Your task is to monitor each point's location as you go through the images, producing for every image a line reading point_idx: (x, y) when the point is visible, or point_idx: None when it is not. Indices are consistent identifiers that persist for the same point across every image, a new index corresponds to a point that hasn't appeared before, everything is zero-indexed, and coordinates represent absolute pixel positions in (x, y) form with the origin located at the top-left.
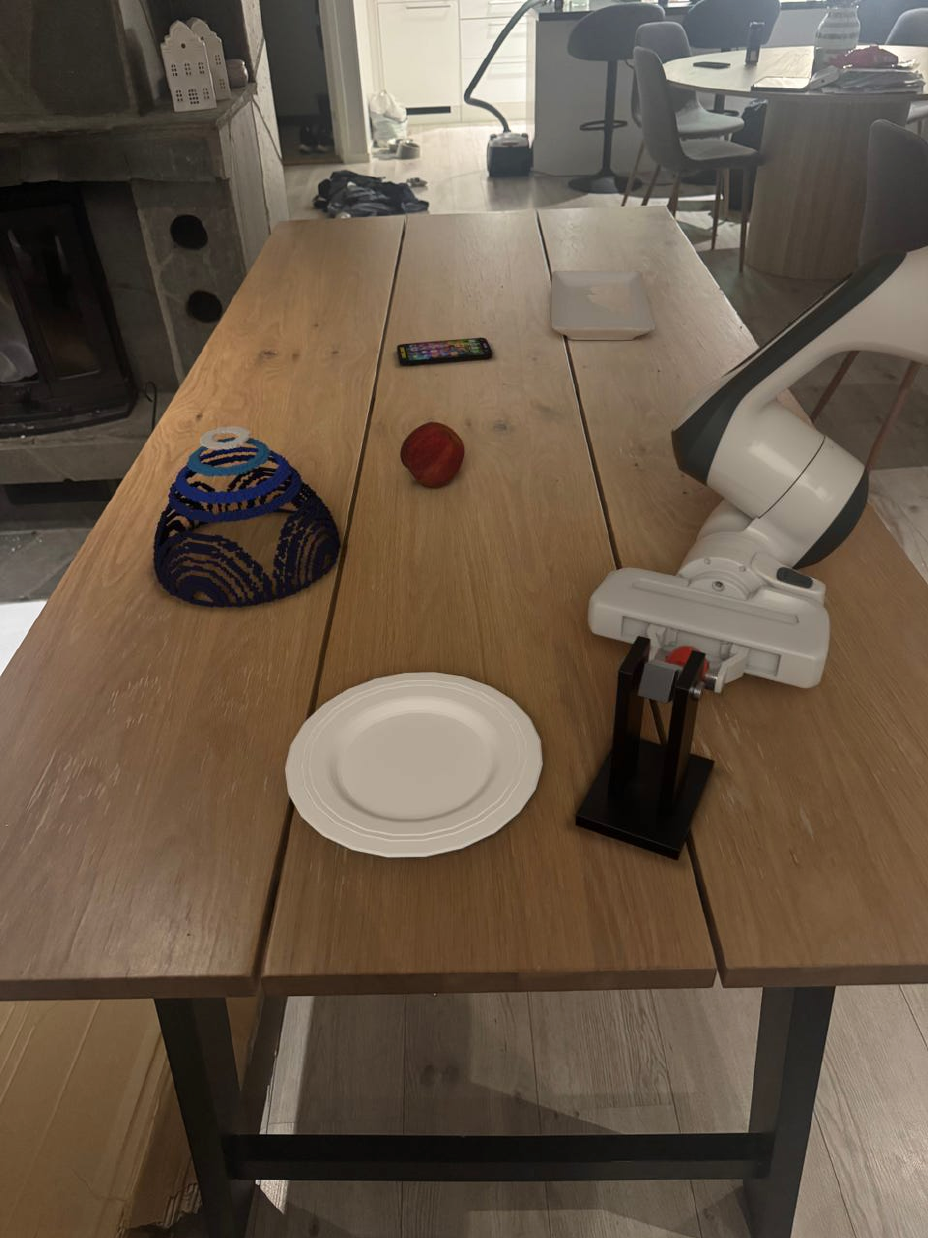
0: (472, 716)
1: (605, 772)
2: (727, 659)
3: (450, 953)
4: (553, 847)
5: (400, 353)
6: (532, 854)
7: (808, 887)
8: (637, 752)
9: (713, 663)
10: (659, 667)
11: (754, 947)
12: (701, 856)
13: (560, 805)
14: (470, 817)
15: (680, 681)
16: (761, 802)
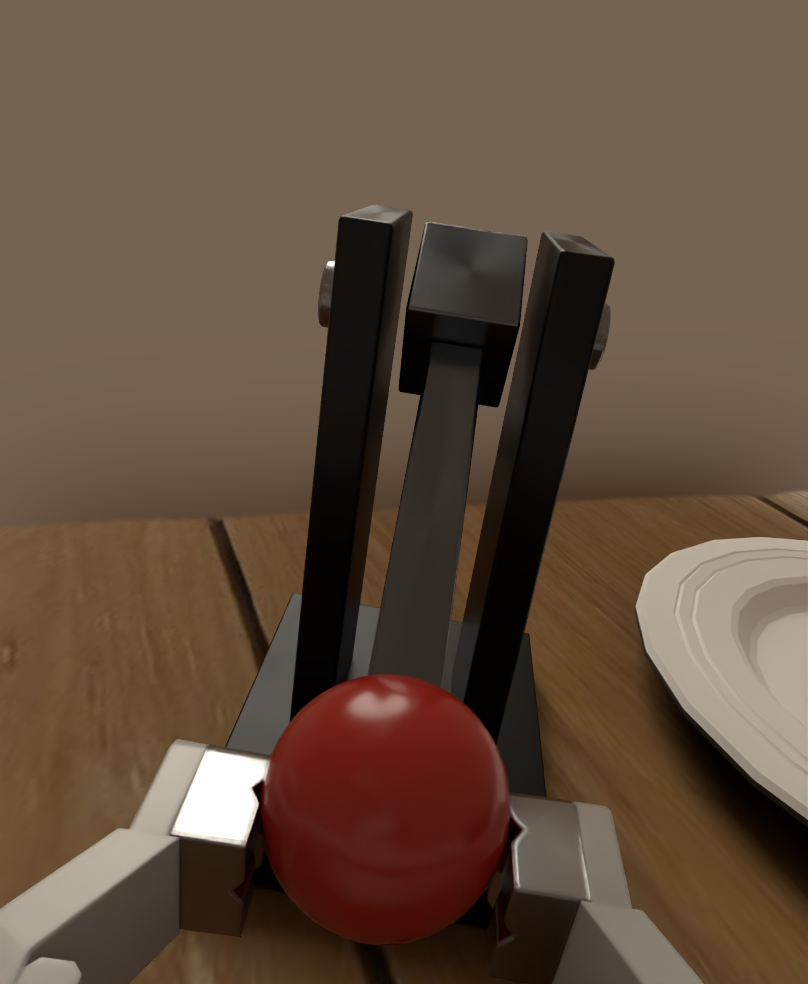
0: None
1: (521, 734)
2: (121, 882)
3: (577, 509)
4: (537, 624)
5: None
6: (565, 610)
7: (5, 606)
8: None
9: (225, 832)
10: (477, 230)
11: (154, 530)
12: (237, 636)
13: (579, 700)
14: (707, 588)
15: (400, 210)
16: (38, 784)
